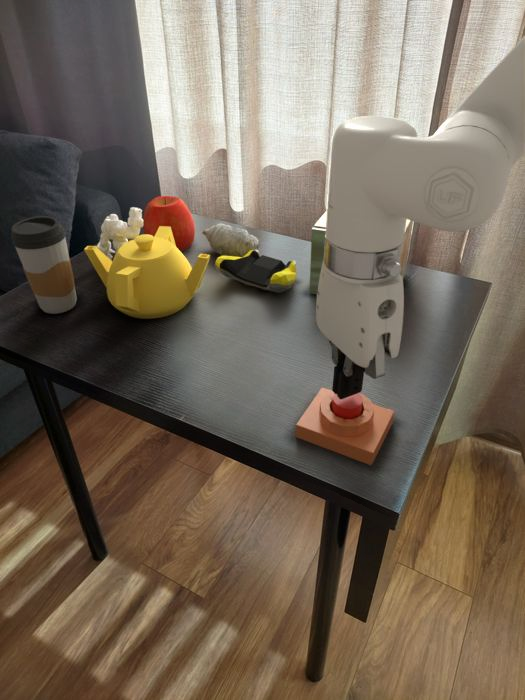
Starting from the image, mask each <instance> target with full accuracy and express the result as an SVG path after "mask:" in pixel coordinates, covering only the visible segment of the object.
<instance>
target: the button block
mask: <svg viewBox="0 0 525 700" xmlns="http://www.w3.org/2000/svg"><path fill="white" fill-rule="evenodd" d="M334 394H335V393H334V392H333V391H332V389H329V388H325V387H321V388H320V389H319V391H318V392H317V394H316V395H315V397H314V398H313V400H312V401H311V403H310V404H309V405H308V407H307V408H306V410H305V411H304V412H303V414H302V416H301V417H300V418H299V420H298V421H297V423H296V425H295V438H297V439H300V440H303V441H306V442H307V443H310V444H313V445H316V446H319V447H321V448H324V449H326V450H329V451H332V452H335V453H336V454H340V455H343V456H345V457H347V458H350V459H352V460H355V461H358V462H361V463H363V464H366V465H369V466H372V465H373V463H374V461H375V459H376V457H377V455H378V454H379V451H380V449H381V448H382V445H383V444H384V441H385V439H386V437H387V435H388V433H389V431H390V429H391V427H392V425H393V422H394V417H395V410H392V409H390V408H387V407H383V406H381V405H377V404H375V403H373V402H372V400H370V399H369V398H368V397H367V396H366V395H365V394H363V393H361V392H360V393H359V394H360V395H361V396H362V399H363V403H362V411H361V414H360V415H359V416H358V417H356V418H354V419H343V418H340V417H338V416H336V415H335V414H334V413H333V411H332V402H333V396H334Z"/></svg>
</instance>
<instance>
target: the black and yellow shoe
mask: <svg viewBox="0 0 525 700" xmlns="http://www.w3.org/2000/svg"><path fill="white" fill-rule="evenodd" d="M296 264H297V263H296V260H289V261H288V262H287V263H286V264H285V263H284V262H283V261H282V260H281V259H277V258H274V257H271V256H267V255H263V254H262V255H260V251H259V250H252V251H250V252H248V253H247V254H246V255H245V256H244V257H234V256H225V255H220V256H218V257H217V258H216V260H215V266H214V267H215V268H216V270H217V271H218V272H219V273H221V274H222V275H223V276H225V277H226V278H231V279H233V280H235V281H238V282H240V283H243V284H244V285H245V286H247V287H252V286H253V287H255V288H259V289H262V290H264V291H270V292H273V293H277V294H281V293H284V292H285V291H288V290H290V289H291V288H293V287H294V286H295V284H296V282H297V266H296Z"/></svg>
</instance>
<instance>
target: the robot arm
mask: <svg viewBox="0 0 525 700" xmlns="http://www.w3.org/2000/svg"><path fill="white" fill-rule="evenodd" d="M524 156H525V35H524V36H522V37H521V39H520V40H519V41H518V42H517V43H516V45H514V47H513V48H512V49H511V50H510V51H509V52H508V53H507V54H505V56H504V57H503V58H502V59H501V60H500V62H499V63H498V64H497V65H496V66H495V67H494V68H493V69H492V70H491V71H490V72H489V73H488V74H487V75H486V77H484V79H483V80H481V82H479V84H478V85H477V86H476V87H475V88H474V89H473V91H472V92H470V94H468V96H467V97H466V98H465V99H464V100H463V101H462V102H461V103H460V104H459V105H458V106H457V108H456V109H455V110H454V111H453V112H452V113H451V114H450V115H449V116H448V117H447V118H446V119H445V120H444V121H443V123H442V124H441V125H440V126H439V127H438V129H437V130H436V131H435V132H434V133H433V134H432V135H430V136H428V137H427V136H424V137H423V136H422V137H420V136H419V134H418V131H417V130H416V128H415V127H414V125H413V124H411V122H410V123H409V122H408V121H406V120H403V119H401V118H397V117H391V116H383V115H364V116H356V117H352V118H348V119H345V120H343V121H342V122H341V123H339V124H338V125H337V126H336V128H335V129H334V130H333V133H332V136H331V141H330V154H329V169H328V184H327V198H326V199H327V202H326V211H327V217H326V233H325V246H324V260H323V263H322V268H321V273H320V278H319V285H318V292H317V294H316V303H315V305H316V306H315V307H316V308H315V321H316V325H317V328H318V329H319V330H320V332H321V333H323V335H324V336H325V337H326V338H327V339H328V340H329V341H328V342H329V344H330V346H331V349H330V350H331V361H332V363H333V364H334V365H335V366H334V367H333V376H332V377H333V378H332V387H331V388H332V389H331V390H332V391H333V392H334V393H335V394H337V396H338V398H339V399H344V398H347V397H349V396H352V395H355V394H357V393H361V392H362V390H363V386H364V385H363V383H364V376H365V375H366V376H367V377H368V376H369V377H370V378H372V379H374V380H376V379H378V378H381V377H383V376H385V375H386V356H387V357H389V358H390V359H391V360H392V359H396V358H397V357H398V356H399V353H400V347H401V341H402V334H403V325H404V311H405V310H404V308H405V293H404V292H405V291H404V279H403V278H402V276H401V275H400V272H401V269H402V267H401V265H400V259H401V252H402V246H403V239H404V232H405V226H406V220H407V219H408V220H411V221H413V223H417V224H419V225H421V226H425V227H428V228H430V229H435V230H437V231H443V232H449V233H450V232H451V233H452V232H453V233H454V232H457V233H458V232H465V231H470V230H473V229H475V228H477V227H480V226H481V225H483V224H484V223H486V222H488V220H490V219H491V218H492V216H493V215H494V214H496V212H497V210H499V208H500V206H501V204H502V202H503V200H504V196H505V193H506V190H507V186H508V183H509V182H508V181H509V177H510V172H511V169H512V167H514V165H516V164H517V163H518V162H519V161H520V160H521V159H522V158H523V157H524Z"/></svg>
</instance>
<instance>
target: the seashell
mask: <svg viewBox="0 0 525 700" xmlns="http://www.w3.org/2000/svg"><path fill="white" fill-rule="evenodd" d="M202 235H203V236H205V238H206V239H207V241H208V243H209V246H210V247H211V249H212V250H213V252H215V253H217V254H219V255H220V256H234V257H244V256H245V255H246V254H247V253H248V252H250V251H252V250H258V251H259V250H260V248H261V245H262V243H261V241H260V240H259V239H258V237H256V236H254V235H253V234H250V233H249V232H248V230H247V229H244V228H239V227H233V226H231V225H229V224H223V223H220V222H218V223H216V225H215V224H214V225H212V226H210V227H209V228H207V229H206V228H204V229H203V230H202Z"/></svg>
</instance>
